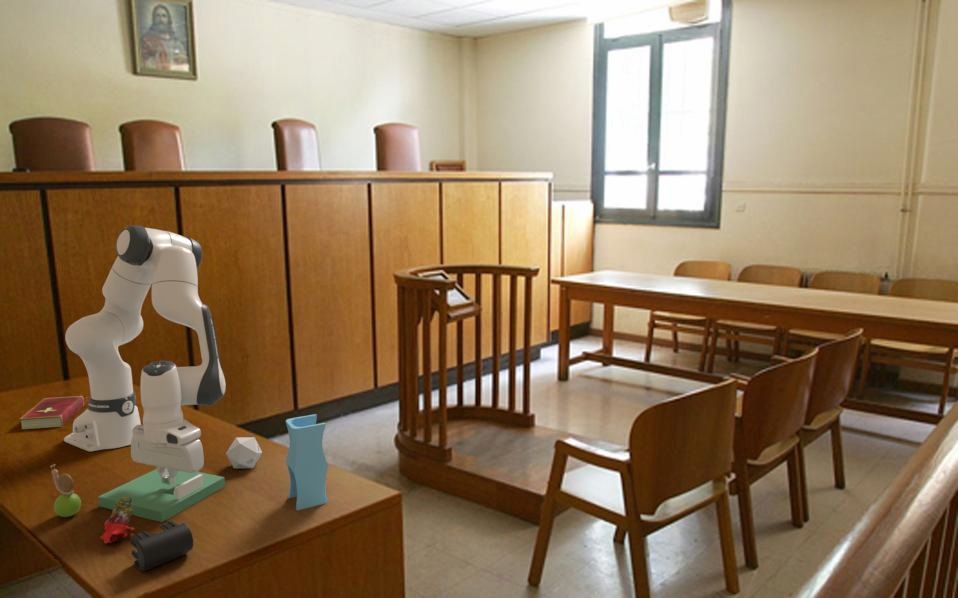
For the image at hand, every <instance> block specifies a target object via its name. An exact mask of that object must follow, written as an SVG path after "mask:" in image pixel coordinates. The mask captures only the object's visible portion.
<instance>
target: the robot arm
mask: <svg viewBox="0 0 958 598" xmlns="http://www.w3.org/2000/svg"><path fill="white" fill-rule="evenodd" d="M115 250H116V251H115V252H116V254H117V257H116V259H115V260H114V263H113V264H112V266H111V268H110V270H109V273H108V275H107V277H106V280H105V282H104V283H103V286H102V291H101V293H102V295H103V297H104V298H105V300H104V304H103V305H104V306H103V307H102V309H101V310H100V311H99V312H97V313H94V314H90V315H86V316H84V317H81V318H79V319H78V320H76V321H74V322H73V323H72V324H70V325H69V326H68V328H67V329H66V332H65V338H64V339H65V343H66V345H67V347H68V349H69V350H70V351H71V352H72V353H74V354H76V355H77V356H78V357H80V359H81V360H82V362H83V365H84V366H85V368H86V371H87V375H88V383H89V384H88V385H89V390H90V396H89V397H88V396H87V397H86V398H84V400H85V401H84V403H88V404H87V408H86V409H85V410H84V411H83V412H82V413H81V414H80V415H78V416H77V417H76V418H75V419H74V420H73V421H72V432H71V433H70V434H68V435H66V436H65V437H64V438H63V440H64V442H65V443H67V444H69V445H72V446H74V447H77V448H79V449H82V450H84V451H86V452H94V451H101V450H111V449H117V448H123V447H126V446H130V457H131V459H132V461H133V462H134V463H139V464H144V465H148V466H152V467H155V469H156V470H157V472H158V473H159V475H160V477H161V483H164V484H168V485H173V484H175V483H176V475H177V473H178V471H181V472H186V473H191V474H192V473H195V472H199V471H200V470H202V469H203V467H204V465H205V463H204V462H205V459H204V450H203V449H204V448H203V444H202V442H201V441H202V440H200V439H199V438H200V437H201V435H202V431H201V429H200V428H199V427H198V426H195V425H194V424H192V423H190V422H189V421H188V420H187V419H185V418H184V413H183V411H182V407H181V406H193V405H197V406H214V405H215V404H217V403H218V402H220V400H221V399H222V398H223V397H224V396H225V393H226V384H227V383H226V379H225V375H224V371H223V368H222V363H221V358H220V353H219V352H220V351H219V347H218V342H217V341H218V340H217V333H216V328H215V324H214V319H213V315H212V312H211V310H210V308H209V306H208V305H207V304H204V303H203V302H202V300H201V299H200V296H199V293H198V292H199V291H198V289H199V282H198V281H199V277H198V269H199V267H200V265H201V263H202V260H203V249H202V246H201V244H200V243H199V242H198V241H197V240H195V239H193V238H191V237H189V236H183V235H180V234H178V233H175V232H172V231H168V230H161V229H156V228H150V227H144V226H143V225H127V226H126V227H124V228H122V230H121V231H120V232H119V235H118V236H117V239H116V244H115ZM150 288H151V291H150V292H151V294H150V295H151V304H152V307H153V309H154V310H155V312H156V313H157V314H158V315H160V316H161V317H163V318H164V319H166V320H167V321H169V322H173V323H175V324H178V325H183V326H186V327H188V328H190V329H192V330H194V331H195V332H196V333H197V336H198V344H199V349H200V355H201V364H199V365H197V366H177V365H176V364H175V363H174V362H173V361H170V360H169V361H168V360H158V361H157V360H156V361H153V362H150V363H148V364H146V365H144V366H143V368H142V369H141V374H140V385H139V386H140V402H141V407H142V409H143V415H142V422H141V417H140V413H139V409H138V406H137V405H136V404H137V396H136V392H135V391H134V387H133V386H134V385H133V374H132V368H131V365H130V364H129V363H127V362H125V361H124V360H123V359H122V356H121V355H120V352H119V347H120V346H123V345H125V344H127V343H130V342H132V341H133V340H134V339H135V338H136V337H138V336H139V335H140V334H141V333H142V331H143V330H144V320H143V317H142V315H141V314H142V313H141V312H142V307H143V304H144V301H145V299H146V297H147V295H148V292H149V290H150ZM141 423H142V424H141ZM166 468H167V469H168V472H170V473H169V474H168V472H167V469H166Z"/></svg>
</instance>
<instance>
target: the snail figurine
mask: <svg viewBox="0 0 958 598" xmlns="http://www.w3.org/2000/svg"><path fill="white" fill-rule="evenodd" d="M55 466H56V464H55V463H53V464H51V465H50V466H49V467H50V468H51V469H50V470H51V476H52V479H53V483H54V486H55V487H56V490H57V491H58V492H59V493H61V494H60V495H59V496H58V497H57V498H56V499H55V500H54V503H53V509H54V512H55V514H56V515H58V516H59V517H62V518H70V517H73V516H75V514H77V513H78V512H79V511H80V509H81V506H82V500H81V498H80V497H79V495H78V494H77V493H75V491H74V490H73V489H74V484H75V483H74V479H73V478H72V476H71V475H70V474H69V473H61V474H59V470H57V469H56V468H55Z"/></svg>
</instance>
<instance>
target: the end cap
mask: <svg viewBox="0 0 958 598" xmlns="http://www.w3.org/2000/svg"><path fill="white" fill-rule="evenodd" d="M159 527H160V529H162V531H159V532H156V533H150V532H149V531H147V530H143V531H141V532H139V533H136V534H134V535H133V536H132V537H130V545H131V546H132V547H134V548H135V549H136V550H135V549H132V550H131V556H132V558H133V559H135V560H134V561H133V565H134V566H135V568H137V569H139V570H140V571H141V572H146V571H149V570H151V569H153V568H155V567H156V568H157V567H158V566H160V565H162V564H163V565H164V564H165V563H168V562H169V561H172V560H175V559H177V558H180V557H182V556H184V555H186V554H188V553H189V552H191V551H192V550H193V548H194V547H193V546H194V537H193V532H192V530H191V528H190V527H189V525H188V524H187V523H185V522H184V523H180V524H178V522H175V520H170V521H168V522H165V523H162V524H160V525H159Z"/></svg>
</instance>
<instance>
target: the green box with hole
mask: <svg viewBox="0 0 958 598" xmlns="http://www.w3.org/2000/svg"><path fill="white" fill-rule="evenodd" d="M166 469H167V468H166ZM167 472H168V469H167ZM169 473H170V472H168V474H169ZM225 487H226V479H225V476H220V475H216V474H210V473H205V472H201V471H197V472H195V473H192V474H191V473H186V472H181V471H178V473H177V475H176V483H175V484H173V485H168V484H164V483H161V477H160V475H159V473H158V472H157V470H156V468H155V469H153V470H151V471H149V472H147V473H145V474H143V475H141V476H139V477H136V478H134V479H132V480H130V481H129V482H126V483H124V484H122V485H120V486H118V487H115V488H113V489H111V490H110V491H107V492H105V493H103V494H101V495H99V496H98V498H97V499H98V507H100V508H105V509H108V510H112V511H113V510H114V506H115V505H116V503H117V501H118V500H120V499H121V498H123V497H128V498H131V499H132V502H131V503H130V504H131V509H132V513H131V516H136V517H140V518H143V519H147V520H151V521H156V522H160V523H164V522H165V521H167V520H169V519H170V518H172V517H175V516H176V515H178V514H180V513H182V512H183V511H185V510H187V509H188V508H190V507H192V506H193V505H195V504H197V503H199V502H201V501H202V500H204V499H206V498H207V497H209V496H212V494H215V493H216V492H219V491H220V490H222V489H224V488H225ZM174 490H175V495H173V493H174Z"/></svg>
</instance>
